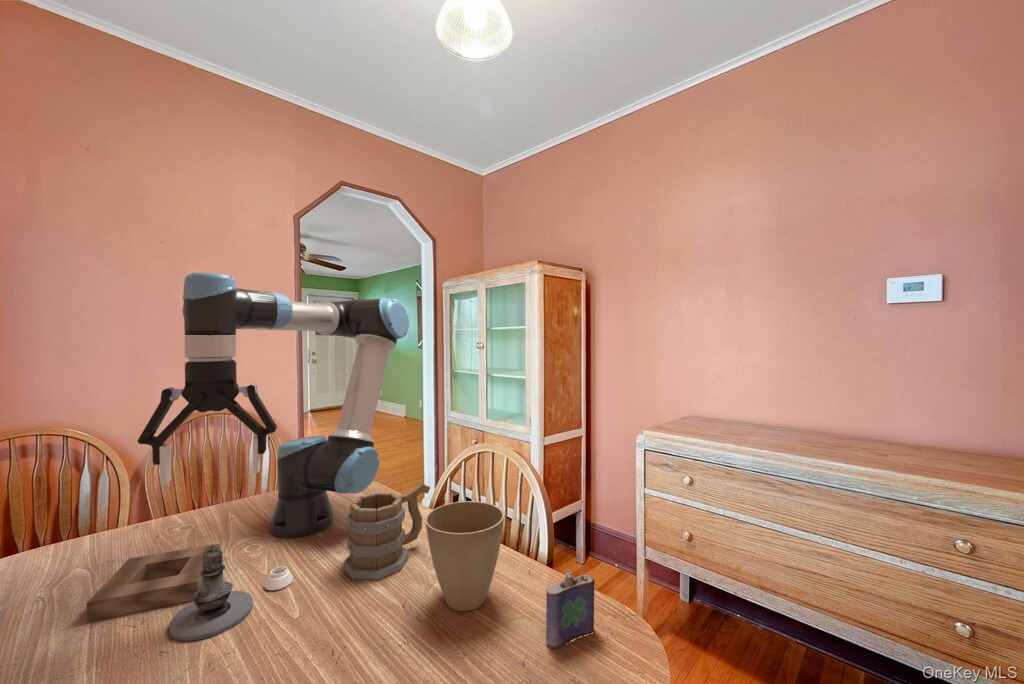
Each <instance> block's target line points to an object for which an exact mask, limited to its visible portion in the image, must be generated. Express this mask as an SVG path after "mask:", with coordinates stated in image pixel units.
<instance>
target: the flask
mask: <svg viewBox="0 0 1024 684" xmlns="http://www.w3.org/2000/svg"><path fill="white" fill-rule="evenodd" d="M565 572H566V573H565ZM562 574H565V577H564V580H563V579H562V580H561V581H558V582H556V583H555V584H552V585H550V586H548V587H547V588H546V590H545V591H546V593H545V596H546V602H545V603H546V605H545V606H546V609H545V610H546V611H545V613H546V615H545V618H546V621H545V624H546V627H545V628H546V632H545V633H546V634H545V641H546V645H548V646H547V647H548V648H549V649H550V650H552V649H560V648H559V647H561V646H562V647H563V646H566V645H567V644H566V643H569V642H570V641H571V640H573V639H575V638H578V637H580V636H584V635H587V634H591V633H592V632H593V631H595V619H594V618H595V583H596V582H595V579H594V578H593V577H592V576H590V575H588V574H584V575H583V574H581V575H579V576H575V575H573V571H571V569H566V570H564V571H563V573H562ZM593 633H594V632H593ZM578 639H579V638H578ZM565 644H566V645H565ZM562 647H561V648H562Z"/></svg>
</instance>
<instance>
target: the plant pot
mask: <svg viewBox="0 0 1024 684" xmlns="http://www.w3.org/2000/svg"><path fill="white" fill-rule="evenodd" d="M504 519H505V512H504V511H503V509H502V508H500V507H499V506H498V505H495V504H492V503H488V502H484V501H474V500H473V501H472V500H471V501H469V500H467V501H456V502H450V503H446V504H442V505H440V506H438V507H435V508H434V509H432V510H431V511H429V512H428V514H426V516H425V518H424V520H425V521H424V522H425V528H426V535H427V541H428V546H429V551H430V556H431V560H432V564H433V568H434V571H435V575H436V577H437V581H438V584H439V586H440V587H439V588H440V590H441V592H442V595H443V598H444V600H445V602H446V604H447V606H448V607H450V609H452V610H455V611H458V612H469V611H474V610H476V609H478V608H480V607H481V606H482V605H483V604H484V603H485V600H486V598H487V595H488V592H489V590H490V587H491V584H492V581H493V578H494V573H495V569H496V567H497V562H498V558H499V554H500V553H499V552H500V547H501V543H502V542H501V541H502V536H503V527H504V521H505V520H504ZM479 606H480V607H479ZM473 609H474V610H473Z"/></svg>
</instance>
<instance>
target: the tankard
mask: <svg viewBox="0 0 1024 684" xmlns="http://www.w3.org/2000/svg"><path fill="white" fill-rule="evenodd" d="M430 490H431V487H430V486H429V485H427V484H424V483H421V482H419V483H418V484H416V486H414V487H413V488H411V490H409V491H408V492H406V493H403V494H399V495H397V494H396V493H394V492H374V493H369V494H364V495H361V496H358V497H357V498H356V499H354V501H352V503H351V502H350V505H349V506H350V507H349V508H350V509H349V513H348V515H346V526H347V528H348V529H349V531H350V532H349V536H348V538H346V549H347V550H348V551H349V555H348V556H347V558H345V560H344V561H343V563H342V565H343V567H342V568H343V569H344V570H345V572H346V574H348V575H349V577H350V578H351V579H353V580H365V579H369V581H377V580H380V579H383V578H385V576H386V577H388V576H391V575H393V574H395V572H396V573H398V572H400V571H401V570H402V569H403V567H404V565H405V564H406V562H407V560H408V559H407V558H409V550H407V549H406V548H405V547H404V546H405V545H408V544H409V543H411V542H412V543H413V541H415V540H417V539H418V537H419V536H420V535H419V534H420V532H421V530H422V528H423V516H422V514H421V512H420V509H419V505H418V504H419V502H418V497H419V496H420V494H421V493H422V492H423V493H425V494H429V491H430ZM406 502H407V509H408V513H409V515H410V517H411V520H412V523H411V524H412V526H411V529H410V531H409V532H407V533H406V530H405V529H404V528H403V521H404V520H405V519H406V508H404V507H403V504H404V503H406ZM405 561H406V562H405ZM404 563H405V564H404ZM401 568H402V569H401ZM399 570H400V571H399ZM397 571H398V572H397ZM392 573H393V574H392ZM390 574H391V575H390ZM387 575H388V576H387Z"/></svg>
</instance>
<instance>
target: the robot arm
mask: <svg viewBox="0 0 1024 684" xmlns="http://www.w3.org/2000/svg"><path fill="white" fill-rule="evenodd" d="M183 281H184V282H183V295H182V301H183V305H182V317H183V320H184V321H183V325H184V326H183V327H184V328H183V329H184V330H183V331H184V358H185V359H188V361H186V362H185V363H184V387H183V388H174V387H172V386H170V387H167V388H164V389H162V391H161V395H160V402H159V404H158V406H157V407H156V408H155V411H154V412H153V414H152V415H151V417H150V419H148V422H147V424H146V425H145V427H144V429H143V430H142V432H141V433H140V435H139V438H138V439H137V443H138V444H139V445H147V446H150V447H151V448H152V449H151V450H152V451H151V452H152V463H153V466H157V465H158V466H159V486H162V485H167V484H168V483H169V482H170V481H172V453H171V452H172V445H171V442H168V443H167V441H168V439H169V438H170V437H171V436H172V435H173V434H174V433H175V432H176V431H177V429H178V428H180V427H181V425H183V423H185V421H186V420H187V419H188V418H189V417H190V416H191V415H193V413H195V411H196V412H199V413H207V412H210V411H211V412H221V411H224V410H227V411H228V412H229V413H232V414H233V415H234V416H235V417H236V418H237V419H238V420H239V421H240V422H241V423H242V424H243V425H245V426H246V427H247V428H248V429H249V430H251V432H253V433H254V434H255V435H254V436H253V437H252V474H253V475H255V474H258V473H259V472H260V470H261V455H262V454H265V452H266V451H267V436H268V435H270V434H274V433H275V432H276V430H277V429H278V426H277V424H276V422H275V420H274V419H273V417H272V415H271V414H270V412H269V410H267V407H266V406H265V404H264V403H263V401H262V399H261V397H260V396H259V393H258V386H257V384H256V383H251V384H249V385H243V386H239V385H238V381H237V361H236V360H234V359H233V358H235V357H236V356H237V336H236V335H237V330H258V331H259V330H262V331H265V330H266V331H268V330H269V331H272V330H273V331H296V332H297V331H298V332H299V331H302V332H309V331H310V332H317V333H318V334H320V335H324V336H325V335H326V336H327V335H329V336H337V337H344V338H352V339H354V340H355V342H356V344H357V349H356V353H355V356H354V361H353V364H352V368H351V373H350V376H349V381H348V384H347V388H346V392H345V396H344V400H343V403H342V408H341V411H340V416H339V418H338V419H339V420H338V423H337V428H336V429H335V430H334V431H333V432H331V433H330V434H328V437H326V436H325V435H322V434H321V435H320V434H319V435H310V436H305V437H301V438H300V437H299V438H295V439H291V440H287V441H286V442H282V444H280V446H279V447H278V450H277V458H276V461H277V494H278V495H277V502H276V504H275V508H274V510H273V513H272V516H271V520H270V533H271V534H272V535H273V534H274V535H273V536H276V537H278V538H279V537H280V538H298V537H304V536H308V535H311V533H312V534H314V532H315V533H317V531H318V532H321V531H322V530H325V529H326V528H328V527H329V526H331V524H333V522H334V520H335V519H334V517H335V516H334V512H335V511H334V508H333V506H332V503H331V500H330V498H329V494H328V492H332V493H333V492H334V493H338V494H351V495H352V494H359V493H361V492H364V491H365V490H366V489H367V488H368V487H369V486H370V485H371V484H372V483H373V481H374V480H375V478H376V476H377V474H378V471H379V467H380V458H379V453H378V451H377V450H376V449H375V448H374V447H375V446H374V445H375V440H374V439H373V438H372V436H371V434H372V433H371V432H372V427H373V424H374V419H375V415H376V410H377V407H378V401H379V396H380V393H381V387H382V385H383V384H382V383H383V379H384V375H385V371H386V366H387V363H388V362H387V361H388V358H389V354H390V352H391V351H392V350H394V349H396V347H397V344H398V343H397V342H398V339H399V340H400V339H402V338H404V337H406V335H407V334H408V332H409V328H410V327H409V326H410V320H409V314H408V312H407V309H406V307H405V305H404V304H403V303H402V302H401V301H400V300H399V299H396V298H386V297H382V298H373V299H372V298H365V299H348V300H339V301H325V300H324V301H321V302H319V303H311V302H303V301H291V299H290V298H289V297H288V296H287V295H285V294H282V293H277V292H273V291H262V290H252V289H245V288H244V289H243V288H242V289H241V288H239V287H237V285H236V280H235V278H234V277H233V276H231V275H228V274H225V273H217V272H191V273H189V274H187V275H186V276H185V277H184V280H183ZM240 393H241V394H242V395H243V396H244V397H245V398H248V400H249V402H250V403H251V405H252V408H254V410H255V412H256V414H257V415H258V417H259V418H260V420H261V422H262V423H263V425H264V426H265V427H264V426H263V425H262V424H260V422H258V421H257V420H256V419H255V418H254V417H253V416H252V415H251V414H250V413H248V412H247V410H245V409H244V408H243V407H242V406H241V405H240V403H238V401H237V400H235V399H236V398H237V396H238V395H239V394H240ZM180 396H181V397H183V399H185V401H186V402H187V403H188V404H187V405H185V407H183V409H181V411H180V412H179V413H178V415H176V416H175V417H174V419H173V420H171V422H169V424H168V425H167V426H165V428H164V429H162V431H161V432H159V434H158V435H157V436H156V433H157V431H158V430H159V428H160V426H161V424H162V422H163V421H164V419H165V417H166V415H167V413H168V412H169V411H170V409H171V408H172V406H173V403H174V401H177V400H178V399H179V397H180ZM333 519H334V520H333ZM332 521H333V522H332ZM328 525H329V526H328ZM327 526H328V527H327ZM325 527H326V528H325ZM307 534H308V535H307ZM303 535H304V536H303Z"/></svg>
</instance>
